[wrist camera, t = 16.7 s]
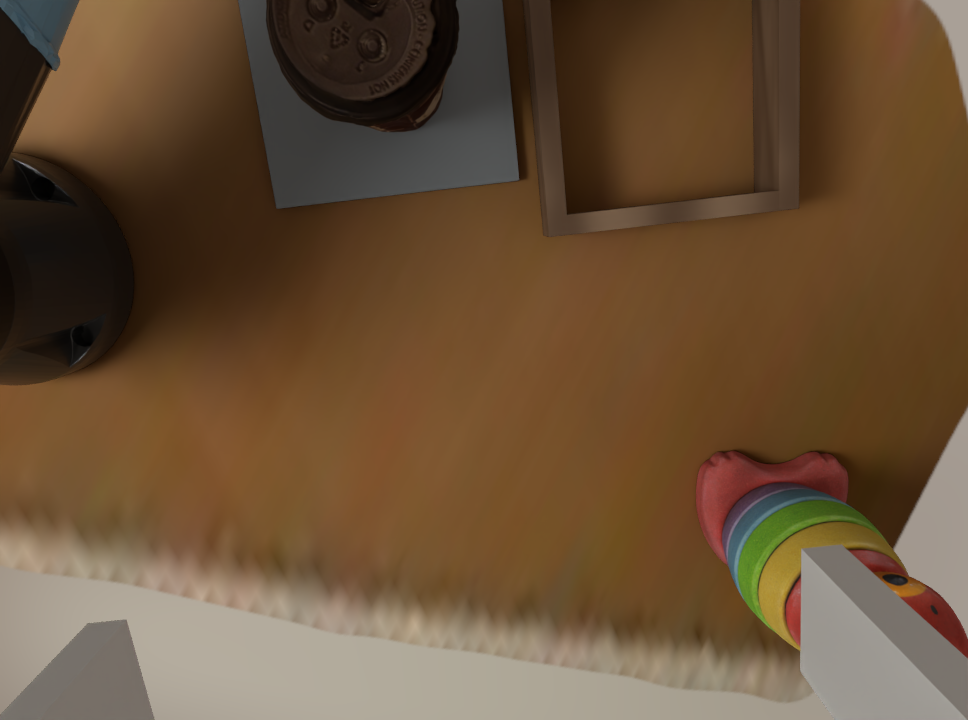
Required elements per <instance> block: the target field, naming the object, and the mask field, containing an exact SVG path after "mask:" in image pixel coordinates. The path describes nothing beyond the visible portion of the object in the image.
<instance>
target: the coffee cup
mask: <svg viewBox="0 0 968 720" xmlns="http://www.w3.org/2000/svg"><path fill="white" fill-rule="evenodd" d="M456 1H457V0H266V6H267V7H266V25H267V30H268V35H269V40H270V44H271V47H272V50H273V53H274V56H275V58H276V60H277V62H278V64H279V66H280V69H281V72H282V74H283V75H284V77H285V78H286V80H287V81H288V83H289V84H290V86H291V87H292V88H293V90H294V91H295V92H296V93H297V95H298V96H299V98H300V99H301V100H302V101H303V102H305V103H306V104H307V105H308V106H310V107H311V108H312V109H313V110H315V111H316V112H318V113H319V114H321V115H322V116H324V117H325V118H328V119H330V120H333V121H340V122H346V123H351V124H355V125H360V126H365V127H369V128H372V129H375V130H377V131H381V132H408V131H412V130H417V129H418V128H420V127H422V126H423V125H424V124H425V123H426V122H427V121H428V120H429V119H430V118H431V117H432V116H433V115H434V114H435V112H436V111H437V109H438V108H439V105H440V103H441V100H442V96H443V86H444V83H445V79H446V76H447V71H448V69H449V67H450V65H451V64H452V60H453V58H454V56H455V54H456V50H457V43H458V39H459V34H458V33H459V30H460V29H459V13H458V9H457V7H456Z"/></svg>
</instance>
